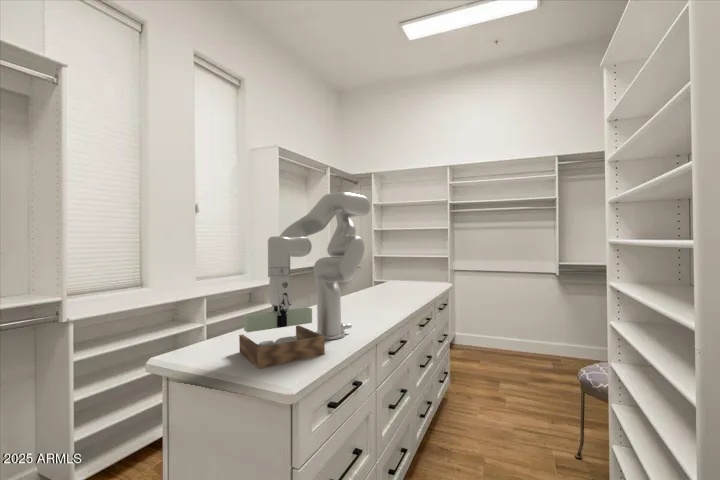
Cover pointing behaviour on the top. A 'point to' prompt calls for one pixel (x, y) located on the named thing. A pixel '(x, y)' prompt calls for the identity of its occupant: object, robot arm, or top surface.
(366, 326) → the top surface
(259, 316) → the sage green plank
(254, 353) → the wooden tray
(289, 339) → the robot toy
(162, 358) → the top surface
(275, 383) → the top surface
